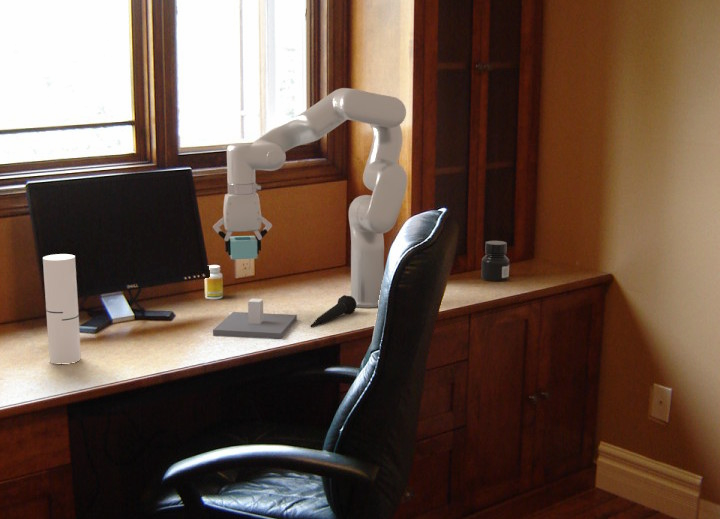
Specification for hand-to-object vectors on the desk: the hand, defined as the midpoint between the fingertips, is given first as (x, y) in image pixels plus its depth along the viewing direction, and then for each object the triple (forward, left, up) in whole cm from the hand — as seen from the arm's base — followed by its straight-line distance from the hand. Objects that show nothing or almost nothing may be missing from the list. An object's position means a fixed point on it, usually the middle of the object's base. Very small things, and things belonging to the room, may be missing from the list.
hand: (243, 253), depth 265 cm
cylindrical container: (+31, +46, -18) cm, 58 cm away
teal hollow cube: (0, 0, -1) cm, 1 cm away
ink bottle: (-67, -58, -18) cm, 91 cm away
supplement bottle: (+15, -18, -18) cm, 29 cm away
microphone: (-24, -1, -18) cm, 30 cm away
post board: (-6, +11, -18) cm, 22 cm away
